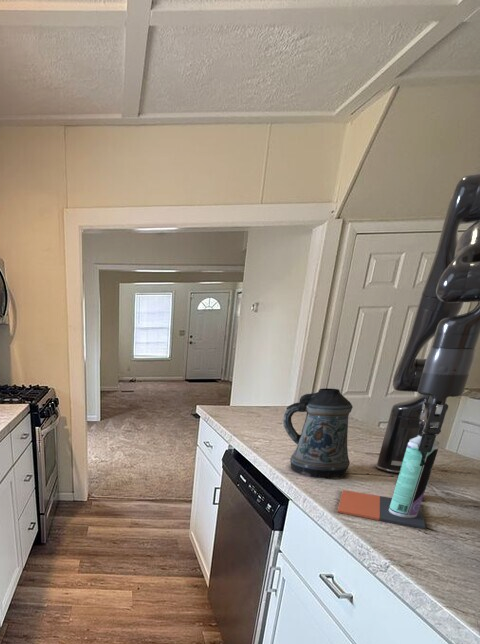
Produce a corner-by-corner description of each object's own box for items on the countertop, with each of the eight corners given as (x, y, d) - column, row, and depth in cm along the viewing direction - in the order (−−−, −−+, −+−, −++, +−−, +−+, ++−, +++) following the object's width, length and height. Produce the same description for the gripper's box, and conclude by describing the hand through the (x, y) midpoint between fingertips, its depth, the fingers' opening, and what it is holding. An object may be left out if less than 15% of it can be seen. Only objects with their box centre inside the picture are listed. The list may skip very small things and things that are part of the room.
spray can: (421, 518, 92) (449, 433, 85) (395, 517, 93) (420, 432, 86) (409, 509, 97) (434, 428, 90) (384, 507, 98) (407, 427, 91)
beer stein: (358, 478, 119) (380, 393, 110) (293, 479, 120) (308, 394, 110) (329, 462, 135) (346, 385, 125) (271, 462, 135) (283, 386, 125)
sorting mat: (342, 491, 110) (343, 489, 110) (419, 504, 101) (420, 502, 101) (337, 512, 98) (337, 510, 97) (424, 529, 89) (425, 526, 89)
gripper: (475, 375, 76) (448, 457, 82) (464, 369, 87) (440, 442, 93) (425, 373, 79) (403, 452, 86) (420, 368, 90) (400, 438, 97)
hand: (422, 447), depth 89 cm, fingers open, 8 cm apart
